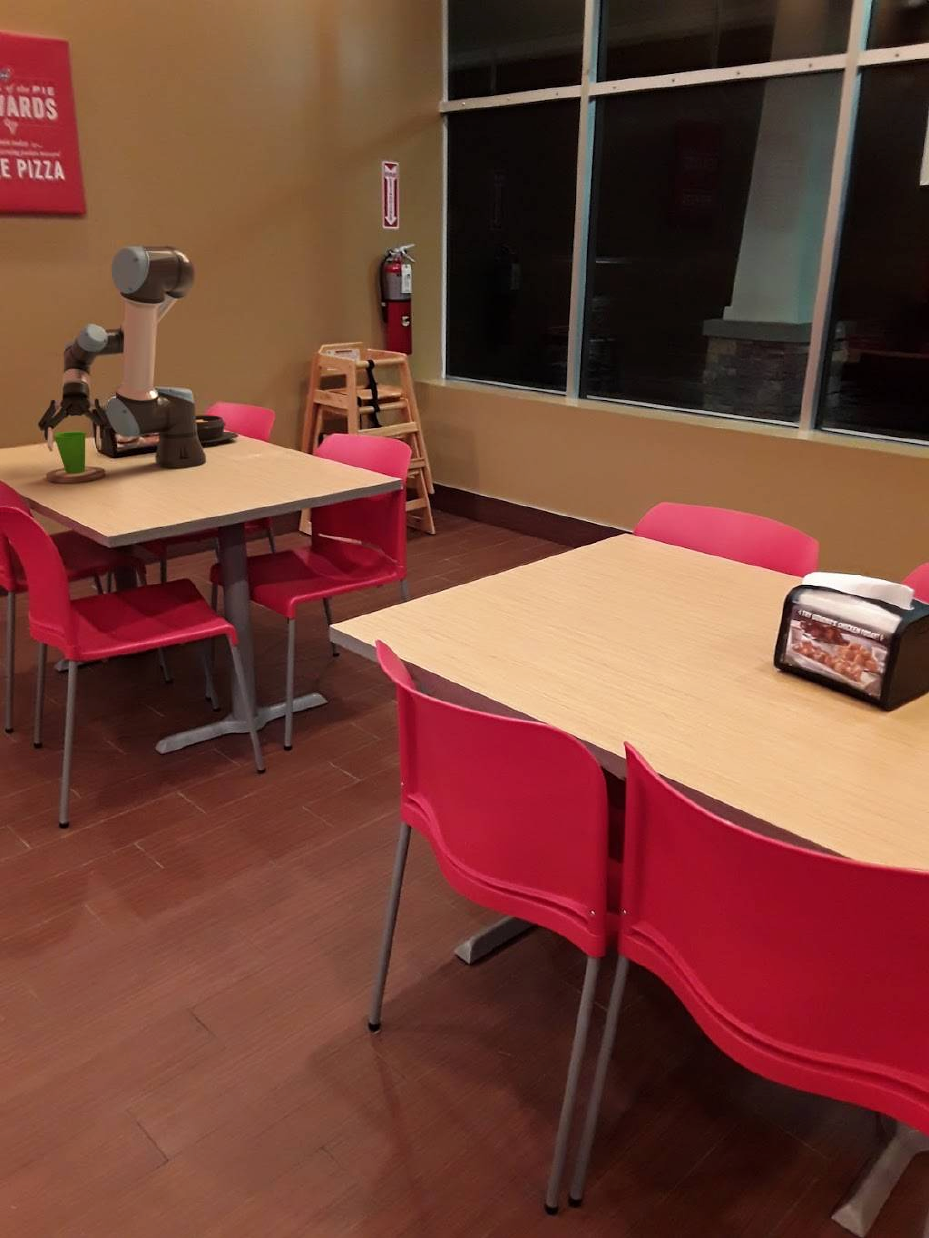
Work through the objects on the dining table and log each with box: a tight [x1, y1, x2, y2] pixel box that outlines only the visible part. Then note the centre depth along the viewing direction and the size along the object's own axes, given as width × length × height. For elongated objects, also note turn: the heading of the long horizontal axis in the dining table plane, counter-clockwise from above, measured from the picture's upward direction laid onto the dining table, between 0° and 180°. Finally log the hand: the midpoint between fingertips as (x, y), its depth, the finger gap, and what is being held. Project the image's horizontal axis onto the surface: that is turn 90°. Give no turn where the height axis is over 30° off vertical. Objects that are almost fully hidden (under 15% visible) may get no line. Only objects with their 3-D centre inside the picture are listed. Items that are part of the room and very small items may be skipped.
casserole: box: [196, 414, 239, 447], centre depth 321 cm, size 25×19×8 cm
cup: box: [53, 430, 87, 474], centre depth 272 cm, size 9×9×11 cm
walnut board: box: [45, 465, 106, 485], centre depth 274 cm, size 16×16×2 cm
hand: (74, 448), depth 276 cm, fingers open, 13 cm apart
